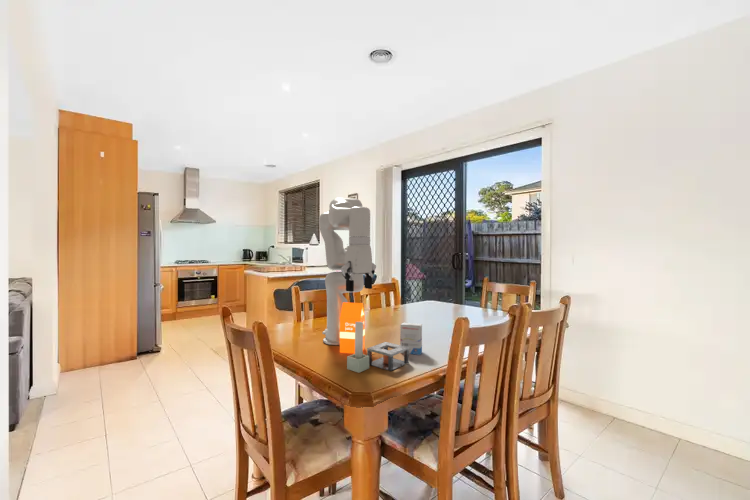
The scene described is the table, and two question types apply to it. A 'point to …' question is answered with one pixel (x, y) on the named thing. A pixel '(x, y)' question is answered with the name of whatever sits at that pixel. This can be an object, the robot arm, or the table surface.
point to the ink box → (411, 337)
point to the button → (385, 359)
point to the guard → (392, 362)
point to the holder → (357, 363)
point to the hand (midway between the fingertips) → (359, 289)
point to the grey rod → (358, 340)
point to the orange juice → (350, 326)
